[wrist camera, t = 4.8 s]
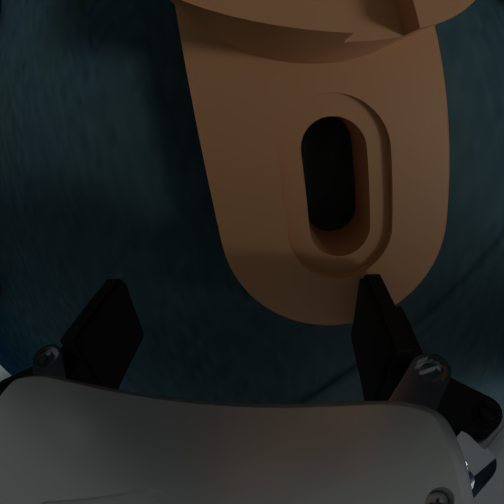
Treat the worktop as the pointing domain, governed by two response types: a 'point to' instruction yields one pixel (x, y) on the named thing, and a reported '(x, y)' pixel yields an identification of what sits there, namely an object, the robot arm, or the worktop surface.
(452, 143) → the worktop surface
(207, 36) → the bracket
